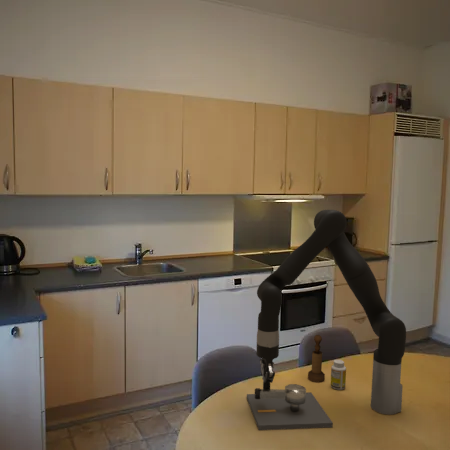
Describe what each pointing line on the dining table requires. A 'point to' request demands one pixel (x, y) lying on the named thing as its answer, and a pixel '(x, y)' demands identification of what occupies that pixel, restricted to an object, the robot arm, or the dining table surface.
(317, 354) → the wooden pepper mill
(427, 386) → the dining table surface
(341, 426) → the dining table surface
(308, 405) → the plate
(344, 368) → the supplement bottle
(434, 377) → the dining table surface
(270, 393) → the lever handle
